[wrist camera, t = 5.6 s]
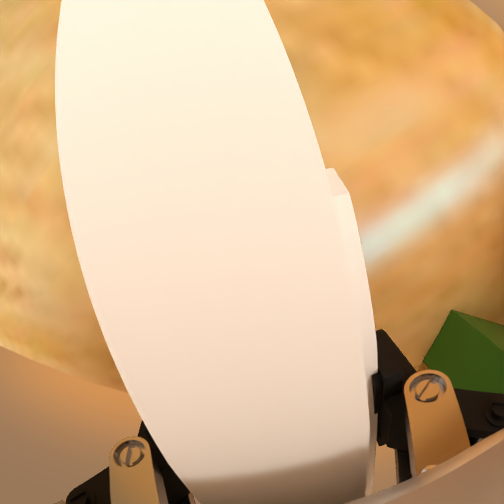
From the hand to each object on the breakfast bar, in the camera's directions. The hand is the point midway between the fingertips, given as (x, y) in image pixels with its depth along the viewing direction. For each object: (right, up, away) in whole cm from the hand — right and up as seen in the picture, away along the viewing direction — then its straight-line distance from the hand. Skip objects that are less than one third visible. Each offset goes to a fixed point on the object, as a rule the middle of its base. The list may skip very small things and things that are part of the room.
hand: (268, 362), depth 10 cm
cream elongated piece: (0, +1, +4) cm, 4 cm away
